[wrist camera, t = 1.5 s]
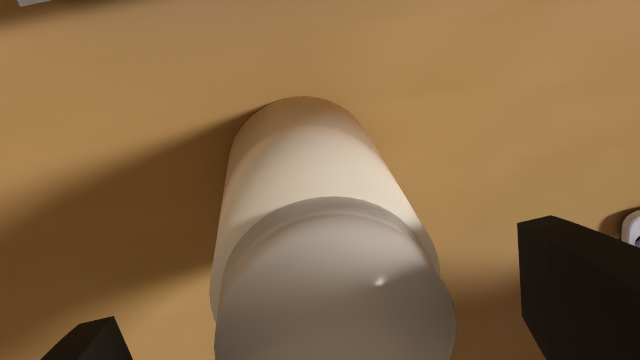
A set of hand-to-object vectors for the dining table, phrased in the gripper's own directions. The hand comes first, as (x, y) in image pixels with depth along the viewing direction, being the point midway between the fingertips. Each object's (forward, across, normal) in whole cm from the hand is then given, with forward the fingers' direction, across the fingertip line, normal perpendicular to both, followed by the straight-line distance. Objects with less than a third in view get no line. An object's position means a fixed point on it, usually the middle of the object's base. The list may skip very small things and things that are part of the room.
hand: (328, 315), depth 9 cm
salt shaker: (+7, 0, 0) cm, 7 cm away
